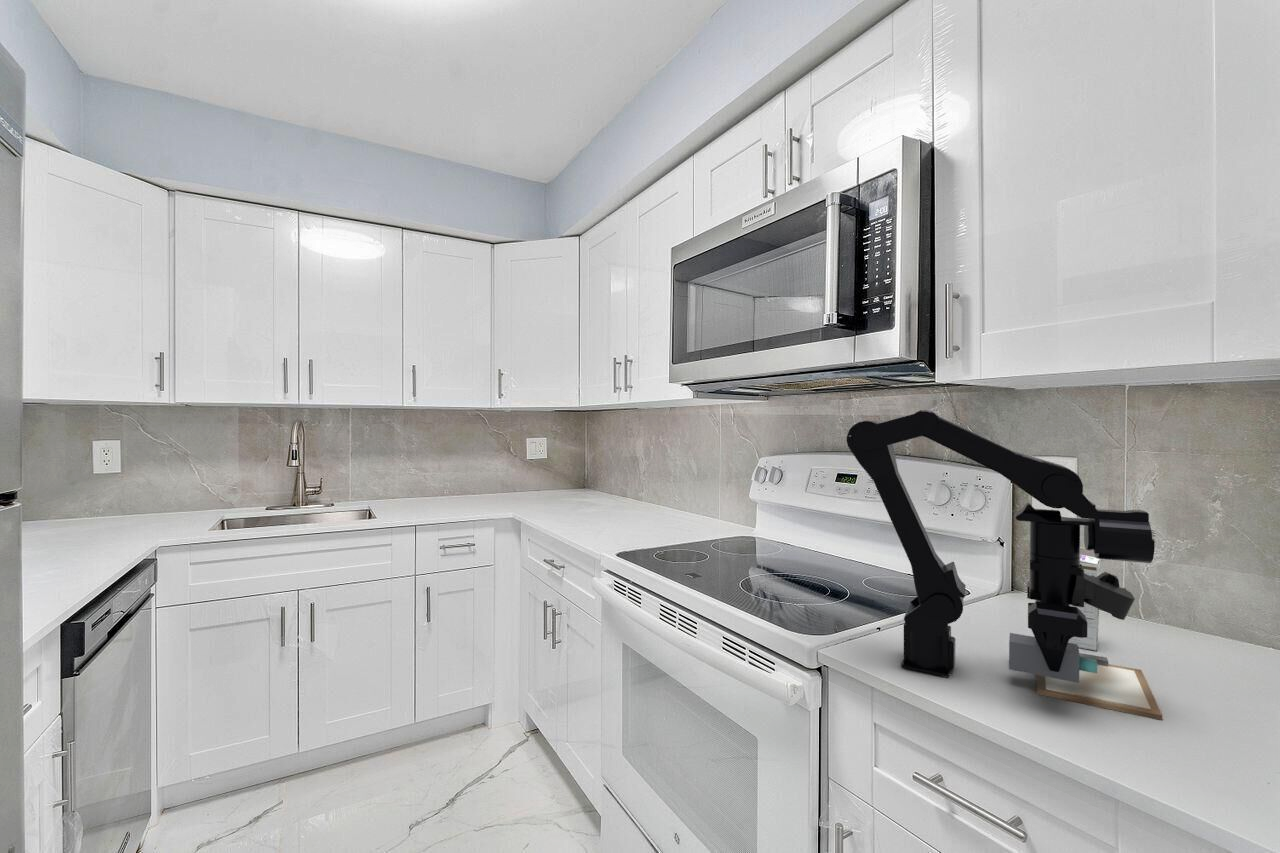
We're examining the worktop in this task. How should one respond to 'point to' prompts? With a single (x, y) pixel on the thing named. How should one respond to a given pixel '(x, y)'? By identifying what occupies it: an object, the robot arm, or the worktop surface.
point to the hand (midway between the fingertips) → (1053, 665)
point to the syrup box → (1089, 608)
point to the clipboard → (1105, 689)
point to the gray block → (1032, 661)
